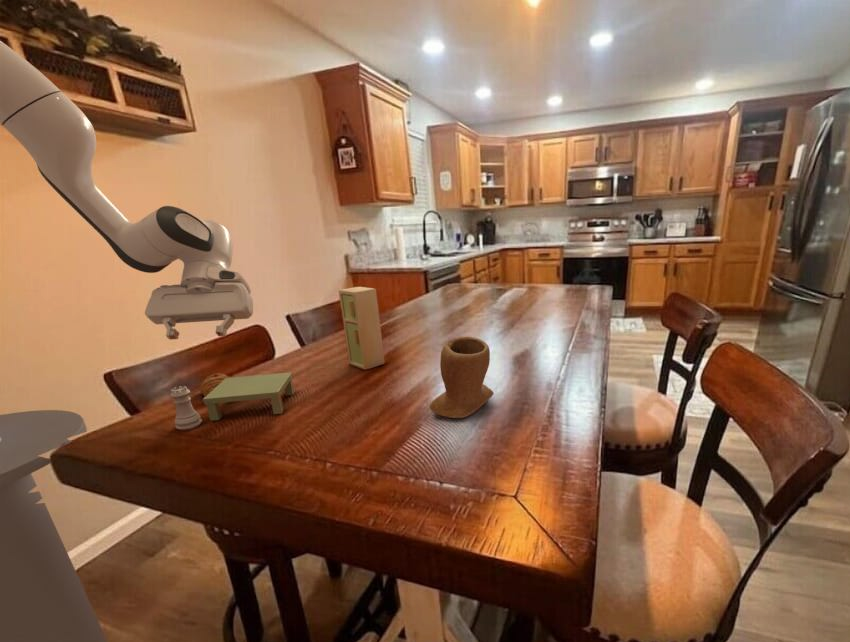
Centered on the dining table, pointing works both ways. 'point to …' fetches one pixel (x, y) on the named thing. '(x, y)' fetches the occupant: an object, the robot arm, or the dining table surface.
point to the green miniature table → (250, 391)
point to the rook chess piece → (184, 409)
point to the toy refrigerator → (362, 327)
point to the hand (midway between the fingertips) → (196, 336)
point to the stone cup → (463, 377)
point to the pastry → (212, 383)
